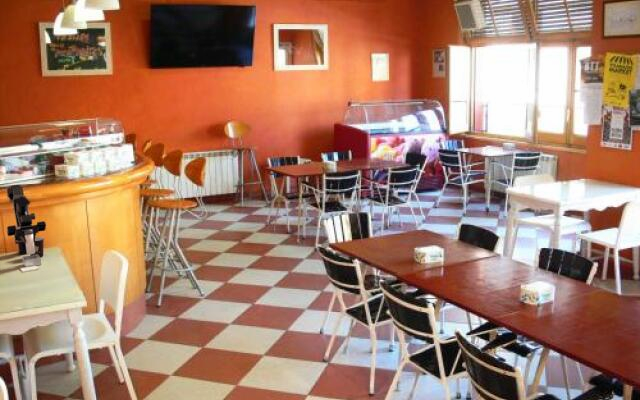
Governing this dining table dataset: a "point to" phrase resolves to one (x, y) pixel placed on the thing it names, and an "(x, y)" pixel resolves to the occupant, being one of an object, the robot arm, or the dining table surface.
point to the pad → (29, 268)
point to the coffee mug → (37, 246)
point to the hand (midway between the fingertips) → (30, 241)
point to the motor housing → (31, 260)
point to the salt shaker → (29, 241)
